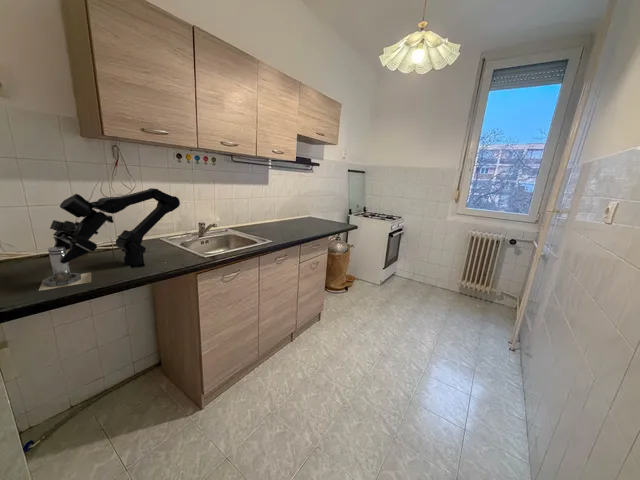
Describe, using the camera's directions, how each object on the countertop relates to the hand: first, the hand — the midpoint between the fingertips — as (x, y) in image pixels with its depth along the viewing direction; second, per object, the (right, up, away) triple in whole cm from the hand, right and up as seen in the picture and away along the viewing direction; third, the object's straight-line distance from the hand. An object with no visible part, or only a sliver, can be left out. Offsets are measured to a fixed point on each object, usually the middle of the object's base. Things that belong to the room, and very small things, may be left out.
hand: (56, 260), depth 88 cm
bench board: (+1, -9, +3) cm, 9 cm away
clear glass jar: (0, -8, +3) cm, 8 cm away
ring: (0, -8, +3) cm, 8 cm away
